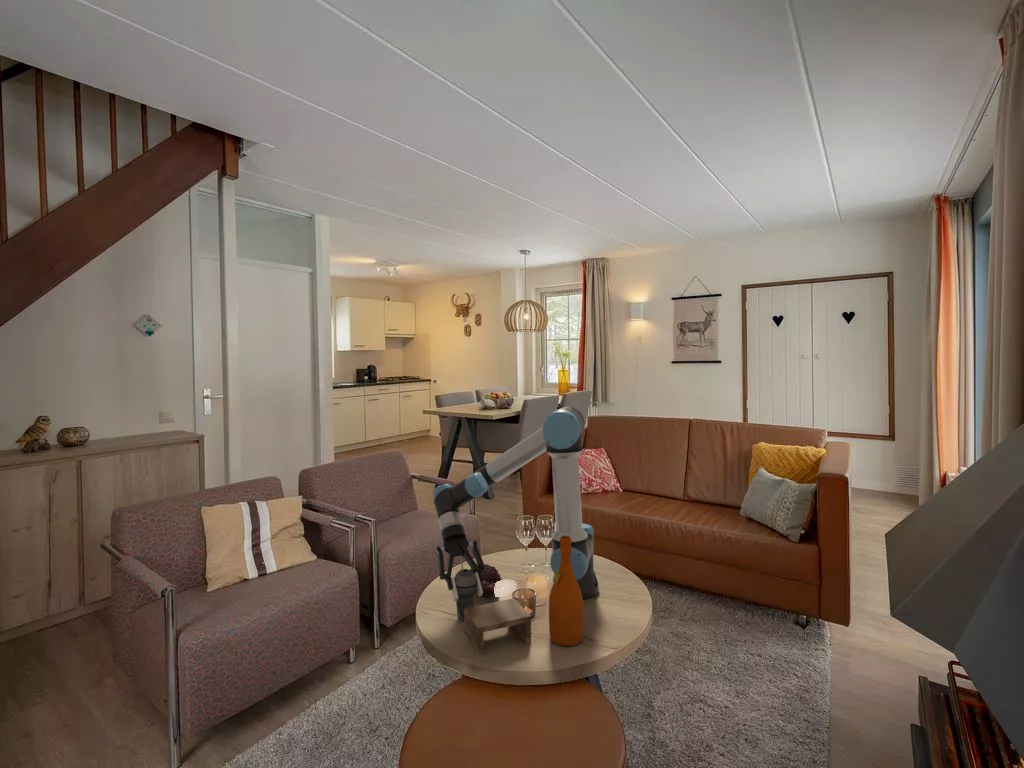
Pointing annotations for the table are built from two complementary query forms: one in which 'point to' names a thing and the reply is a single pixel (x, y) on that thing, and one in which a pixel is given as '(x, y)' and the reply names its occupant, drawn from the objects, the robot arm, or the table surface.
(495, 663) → the table surface
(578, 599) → the wine bottle
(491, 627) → the walnut shelf
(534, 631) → the table surface
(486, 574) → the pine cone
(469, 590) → the beverage cup
